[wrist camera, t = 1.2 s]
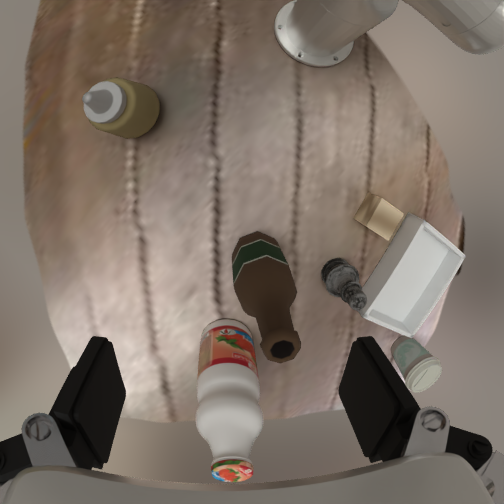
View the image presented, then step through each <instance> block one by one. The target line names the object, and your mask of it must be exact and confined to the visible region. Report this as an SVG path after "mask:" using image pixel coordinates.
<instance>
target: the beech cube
mask: <svg viewBox="0 0 504 504" xmlns="http://www.w3.org/2000/svg"><path fill="white" fill-rule="evenodd" d="M403 215H404V214H403V213H402V212H401V211H399V210H398V209H397V208H395V207H394V206H392V205H391V204H390V203H388V202H387V201H385V200H384V199H383V198H381V197H378V196H376V195H373V194H371V193H369V192H368V194H367V195H366V197H365V199H364V201H363V202H362V204H361V206H360V208H359V209H358V211H357V213H356V215H355V216H354V219H355V220H357V221H358V222H360V223H361V224H363V225H364V226H366V227H368V228H369V229H371V230H372V231H374V232H375V233H377V234H379V235H380V236H382V237H383V238H385V239H386V240H388V241H389V239H390V237H391V236H392V234H393V232H394V231H395V229H396V227H397V225H398V224H399V222H400V220H401V218H402V217H403Z"/></svg>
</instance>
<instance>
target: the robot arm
mask: <svg viewBox="0 0 504 504" xmlns="http://www.w3.org/2000/svg"><path fill="white" fill-rule="evenodd" d="M398 1H399V0H294V1H291V2H289V3H288V4H286V5H285V6H283V7H282V9H281V10H280V11H279V13H278V14H277V16H276V19H275V23H274V31H275V36H276V39H277V41H278V43H279V44H280V46H281V47H282V49H283V50H284V51H285V52H286V53H287V54H288V55H289V56H291V57H292V58H294V59H295V60H297V61H299V62H301V63H303V64H306V65H310V66H314V67H328V66H332V65H335V64H337V63H339V62H341V61H342V60H344V59H345V58H346V57H347V56H348V55H349V54H350V52H351V50H352V48H353V45H354V40H355V39H357V38H358V37H359V36H361V35H362V34H364V33H365V32H367V31H369V30H370V29H372V28H373V27H374V26H376V25H378V24H379V23H381V22H382V21H384V20H385V19H387V18H388V17H389V16H391V15H392V13H393V12H394V11H395V9H396V7H397V4H398ZM403 1H404V2H405V3H408V4H409V5H410V6H412V7H413V8H414V9H416V10H417V11H418V12H419V13H420V14H422V15H423V16H424V17H425V18H426V19H428V20H429V21H430V22H431V23H432V24H433V25H435V26H436V27H437V28H438V29H439V30H440V31H441V32H442V33H443V34H445V35H446V36H447V37H448V38H449V39H450V40H451V41H452V42H453V43H455V44H456V45H457V46H458V47H460V48H461V49H463V50H465V51H467V52H469V53H472V54H479V55H480V54H488V53H492V52H494V51H497V50H499V49H501V48H502V47H504V0H403ZM278 28H281V30H280V29H278ZM298 55H300V56H301V58H300V57H298ZM333 58H334V59H335V61H334V60H333ZM339 396H340V399H341V401H342V403H343V406H344V408H345V410H346V413H347V415H348V418H349V420H350V422H351V425H352V427H353V430H354V432H355V434H356V437H357V439H358V442H359V444H360V446H361V449H362V451H363V454H364V456H365V457H369V459H370V462H371V463H373V462H376V461H380V460H382V461H383V462H382V463H378V464H374V465H370V466H366V467H361V468H357V469H352V470H348V471H344V472H339V473H334V474H328V475H322V476H316V477H310V478H303V479H295V480H287V481H277V482H264V483H247V484H196V483H179V482H167V481H157V480H149V479H141V478H134V477H127V476H121V475H115V474H109V473H104V472H99V471H94V470H91V469H92V467H94V468H98V469H102V468H103V464H104V463H107V462H108V459H109V455H110V451H111V448H112V444H113V440H114V436H115V432H116V429H117V425H118V421H119V418H120V415H121V411H122V408H123V404H124V401H125V397H126V390H125V387H124V383H123V380H122V377H121V373H120V370H119V366H118V363H117V359H116V355H115V352H114V348H113V344H112V342H109V341H108V339H107V338H106V337H96V336H93V337H92V338H91V339H90V341H89V343H88V345H87V346H86V348H85V350H84V352H83V354H82V355H81V357H80V359H79V361H78V363H77V365H76V366H75V367H73V368H72V370H71V371H70V373H69V375H68V377H67V379H66V381H65V383H64V385H63V387H62V389H61V390H60V392H59V394H58V397H57V399H56V401H55V403H54V405H53V407H52V409H51V411H50V413H49V415H47V414H45V413H36V414H33V415H31V416H29V417H28V418H27V419H26V420H25V421H24V423H23V425H22V434H19V435H17V436H14V437H12V438H9V439H6V440H4V441H1V442H0V504H504V455H503V454H502V453H500V452H498V451H497V450H496V451H495V452H492V445H491V443H490V442H489V440H488V439H486V438H485V437H483V436H481V435H477V434H474V433H471V432H468V431H465V430H462V429H459V428H455V427H453V426H450V420H449V418H448V416H447V414H446V413H445V412H444V411H442V410H441V409H439V408H436V407H425V408H422V409H420V407H419V406H418V404H417V402H416V401H415V399H414V398H413V396H412V394H411V393H410V391H409V390H408V388H407V387H406V385H405V384H404V382H403V381H402V379H401V378H400V376H399V375H398V373H397V372H396V370H395V369H394V367H393V366H392V364H391V363H390V361H389V360H388V358H387V357H386V355H385V354H384V352H383V351H382V349H381V348H380V347H379V345H378V344H377V342H376V341H375V339H374V338H373V337H372V336H368V337H359V338H357V340H356V341H354V342H353V344H352V347H351V350H350V354H349V357H348V361H347V364H346V367H345V370H344V374H343V377H342V380H341V383H340V386H339Z"/></svg>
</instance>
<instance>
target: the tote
mask: <svg viewBox="0 0 504 504" xmlns="http://www.w3.org/2000/svg"><path fill="white" fill-rule="evenodd" d="M465 257H466V256H465V255H464V254H463V253H462V252H461V251H460V250H459V249H458V248H457V247H456V246H454V245H453V244H452V243H451V242H450V241H449V240H448V239H446V238H445V237H444V236H443V235H442V234H441V233H439V232H438V231H437V230H436V229H435V228H434V227H432V226H431V225H430V224H429V223H427V222H426V221H425V220H424V219H421V218H419V217H417V216H415V215H413V214H411V213H409V212H408V214H407V216H406V218H405V219H404V221H403V223H402V225H401V226H400V228H399V230H398V232H397V233H396V235H395V237H394V238H393V240H392V242H391V243H390V245H389V247H388V248H387V250H386V252H385V253H384V255H383V257H382V258H381V260H380V261H379V263H378V265H377V266H376V268H375V269H374V271H373V273H372V274H371V276H370V277H369V279H368V280H367V282H366V283H365V285H364V286H363V288H362V291H363V293H364V294H365V295H366V297H367V304H366V306H365V307H364V308H363V309H361V310H357V311H358V312H359V313H360V315H361V316H362V317H363V318H365V319H367V320H370V321H372V322H374V323H377V324H379V325H381V326H384V327H386V328H388V329H391V330H393V331H395V332H398V333H400V334H402V335H405V336H407V337H409V338H412V337H413V336H414V335H415V333H416V332H417V331H418V329H419V328H420V326H421V325H422V324H423V322H424V321H425V320H426V318H427V317H428V315H429V314H430V312H431V311H432V310H433V308H434V307H435V305H436V304H437V302H438V301H439V299H440V298H441V296H442V295H443V293H444V291H445V290H446V288H447V287H448V285H449V284H450V282H451V280H452V279H453V277H454V275H455V274H456V272H457V270H458V269H459V267H460V265H461V264H462V262H463V260H464V258H465Z"/></svg>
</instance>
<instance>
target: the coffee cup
mask: <svg viewBox="0 0 504 504" xmlns="http://www.w3.org/2000/svg"><path fill="white" fill-rule="evenodd" d="M391 353H392V355H393V357H394V359H395V361H396V363H397V365H398V367H399V369H400V371H401V373H402V375H403V378H404V380H405V385H406V387H407V388H408V389H410V390H412V391H413V392H421V391H424V390H426V389H428V388H429V387H431V386H432V385H433V384H434V383H435V382H436V381H437V379H438V378H439V376H440V374H441V371H442V369H441V366H440V362H439V360H438V358H436V357H433V356H432V355H431V354H430V353H429V352H428V351H427V350H426V349H425V348H424V347H422V346H421V345H420V344H419V343H418V342H417V341H416V340H415V339H413V338H409V337H407V336H405V335H404V336H402V337H400V338H398V339H397V340H396V341H395V342H394V344H393V345H392V348H391Z"/></svg>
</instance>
